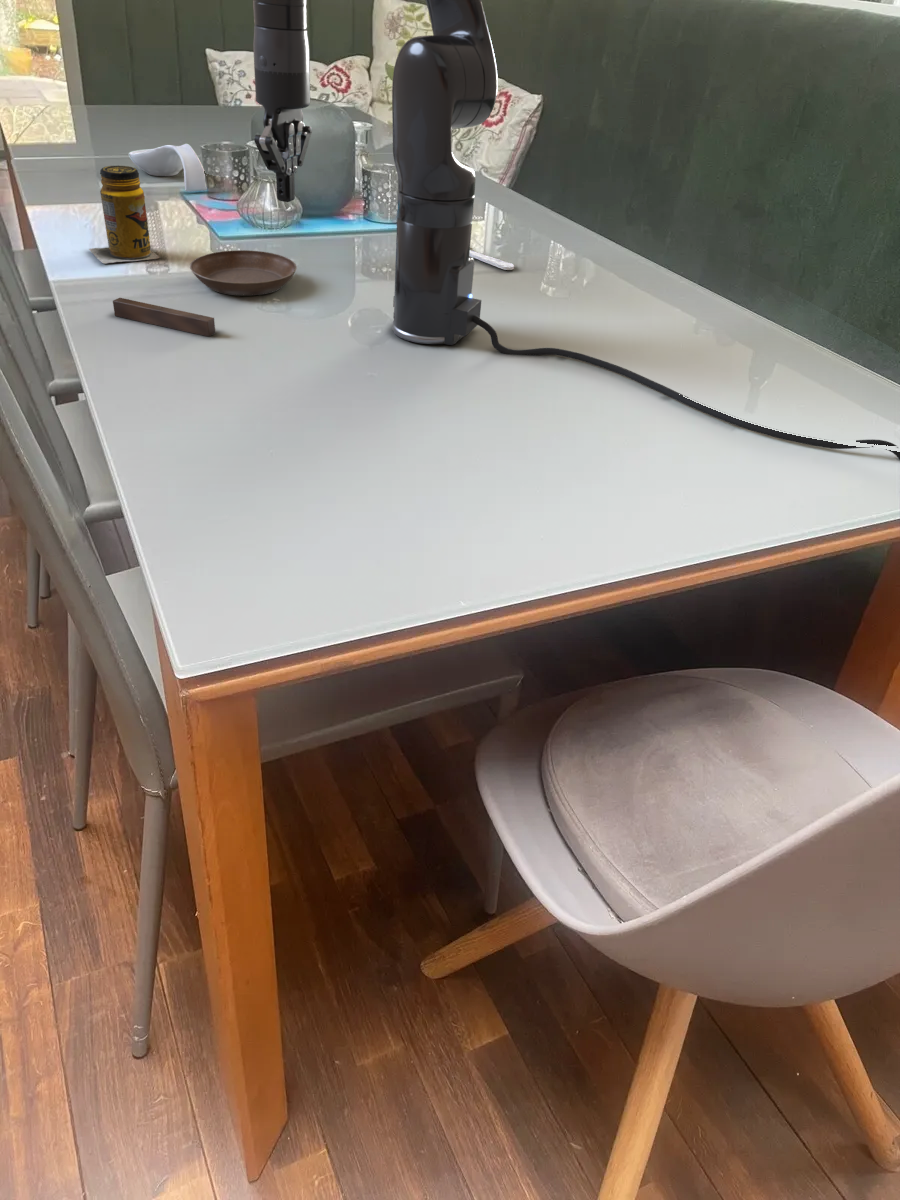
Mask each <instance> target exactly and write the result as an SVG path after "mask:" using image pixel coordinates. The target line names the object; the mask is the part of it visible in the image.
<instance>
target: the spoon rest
mask: <svg viewBox="0 0 900 1200" xmlns="http://www.w3.org/2000/svg"><path fill="white" fill-rule="evenodd" d="M128 157H129V158H130V160H131V162H132V163H133V164H134V165H135V166H136V167H137V168H139V169H140V170H142V171H144V172H145V173H146V174H148V175H151V176H156V177H173V176H176V175H178V174H179V173H180V172H181V171H182V170H183V181H184V190H185V192H187V193H189V192H190V193H192V192H202V191H203V192H204V191H208V190H207V187H205V174H204V171H205V169H204V165H203V164H202V162H201V160H200V159H199V156H198V154H197V153H196V151H195V150H194V149H193V147H192V146H191V145H190V144H188V143H184V144H181V145H173V144H167V145H162V146H158V147H154V148H149V149H148V148H147V149H137V150H131V151H129V152H128Z"/></svg>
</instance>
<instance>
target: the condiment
mask: <svg viewBox="0 0 900 1200" xmlns="http://www.w3.org/2000/svg"><path fill="white" fill-rule="evenodd" d="M99 174H100V178H101V179H100V183H101V186H102V187H101V188H100V191H99V192H100V200H101V207H102V211H103V212H102V214H103V218H104V227H105V231H106V237H107V239H106V240H107V245H108V246H107V247H100V248H99V247H92V248H88V250H89V251H90V253H91V254H92V255H94V257H95V258H96V260H98V261H100V262H101V264H113V263H122V262H137V261H149V260H156V259H160V258H161V256H159V255H157V254H156V253H155V252H154V251H152V249H151V241H150V231H149V222H148V215H147V209H146V202H145V201H146V200H145V192H144V190H143V189H142V187H141V186H140V185H141V182H140V172H139V171H138V169H137V168H136V167H133V166H128V165H119V164H117V165H108V166H104V167H102V168H101V169H100V171H99Z"/></svg>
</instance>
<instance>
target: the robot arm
mask: <svg viewBox="0 0 900 1200" xmlns="http://www.w3.org/2000/svg"><path fill="white" fill-rule="evenodd" d="M252 2H253V3H252V4H253V5H252V6H253V7H252V8H253V24H254V27H253V41H252V42H253V44H252V47H253V49H252V50H253V70H254V88H255V89H254V90H255V101H256V103H257V104H259V105H260V106H262V107H263V108H264V113H263V120H262V125H263V128H264V129H263V131H262V133H261V134H255V135H254V138H253V139H254V144H255V146H256V148H257V151H258V152H259V155H260V157H261V159H262V162H263V163H264V166H265V167H266V170H267V171H272V172H273V173H275V178H276V181H275V182H276V198H277V200H278V201H279V202H284V203H290V202H292V201H295V199H296V193H295V192H296V188H295V186H296V185H295V183H296V182H295V174H297V173H298V167H300V168H301V167H302V166H303V165H304V161H305V157H306V155H307V151H308V147H309V143H310V141H311V136H312V133H313V129H312V126H309V125H305V123H304V113H303V109H305V108H307V107H309V106H310V105H311V63H310V59H311V58H310V42H309V35H308V0H252ZM425 4H426V9H427V11H428V16H429V20H430V25H431V30H432V35H419V36H413V37H411V38H410V39H407V41H406V42H405V43H404V44H403V45H402V46H401V48H400V50H399V52H398V54H397V57H396V59H395V63H394V67H393V72H392V82H391V83H392V84H391V114H392V115H391V118H392V119H391V121H392V157H393V163H394V167H395V170H396V173H397V179H398V180H397V212H396V214H397V215H396V239H395V240H396V241H395V268H394V271H395V272H394V292H393V293H394V295H393V300H392V301H393V303H392V305H393V306H392V307H393V321H392V332H393V333H394V335H395V336H397V337H399V338H401V339H402V340H405V341H409V342H411V343H416V344H424V345H448V346H454V345H455V344H456V343H457V342H459V341H460V340H461V339H462V338H464V337H467V336H468V335H469V334H470V333H471V332H472V331H473V330H474V329H476V327H478V326H479V327H480V328H482V329H483V330H485V331H486V332H487V333H488V334H489V337H490V340H491V341H490V342H491V345H492V347H493V348H494V350H495V351H498V352H499V353H501V354H504V355H512V356H545V355H546V356H547V355H548V356H549V355H550V356H558V357H563V358H567V359H568V358H569V359H572V360H577V361H581V362H582V363H583V362H584V363H586V364H590V365H593V366H596V367H599V368H602V369H604V370H607V371H610V372H613V373H616V374H618V375H621V376H623V377H626V378H627V379H631V380H632V381H634V382H637V383H639V384H641V385H643V386H645V387H647V388H650V389H652V390H654V391H656V392H659V393H661V394H663V395H665V396H667V397H669V398H671V399H673V400H675V401H677V402H678V403H679V402H680V403H682V404H683V405H686V406H687V407H690V408H692V409H695V410H696V411H699V412H701V413H704V414H706V415H709V416H711V417H713V418H716V419H718V420H720V421H723V422H726V423H729V424H731V425H733V426H736V427H739V428H742V429H745V430H748V431H751V432H755V433H758V434H761V435H765V436H769V437H772V438H776V439H779V440H784V441H788V442H793V443H798V444H803V445H808V446H812V447H817V448H823V449H832V450H849V449H864V448H865V449H866V448H867V449H868V448H869V447H856V446H848V445H843V444H837V443H833V442H828V441H823V440H817V439H812V438H806V437H801V436H796V435H792V434H787V433H783V432H779V431H775V430H772V429H768V428H764V427H761V426H758V425H754V424H751V423H748V422H745V421H742V420H739V419H736V418H733V417H731V416H728V415H726V414H723V413H721V412H718V411H716V410H713V409H711V408H708V407H706V406H703V405H701V404H699V403H696V402H694V401H692V400H690V399H687V398H689V397H688V396H686V395H684V394H682V393H680V392H677V391H676V390H674V389H672V388H670V387H668V386H666V385H663V384H661V383H659V382H657V381H655V380H652V379H650V378H648V377H646V376H643V375H641V374H638V373H637V372H635V371H632V370H630V369H627V368H624V367H622V366H620V365H617V364H615V363H611V362H608V361H605V360H603V359H600V358H596V357H593V356H590V355H588V354H583V353H580V352H576V351H573V350H568V349H562V348H556V347H538V348H537V347H536V348H529V349H512V348H508V347H506V346H504V345H502V344H501V343H500V341H499V338H498V334H497V331H496V330H495V329H494V328H493V326H492V325H490V323H488V322H486V321H485V320H483V319H482V318H481V310H482V299H479V298H473V294H472V293H473V280H474V269H475V258H473V257H471V256H469V254H470V250H471V240H472V231H473V230H472V227H473V215H474V203H475V191H476V178H477V177H476V173H475V170H474V169H473V168H472V166H470V165H469V164H467V163H464V162H462V161H459V160H458V159H457V158H456V157H455V156H454V154H453V145H452V144H453V142H452V141H453V139H452V138H453V136H452V135H453V133H452V130H455V129H467V128H473V127H477V126H480V125H482V124H483V123H485V122H486V121H487V119H488V118H489V117H490V116H491V114H492V112H493V110H494V108H495V104H496V101H497V95H498V87H499V86H498V70H497V69H498V68H497V62H496V57H495V53H494V52H495V51H494V48H493V44H492V40H491V39H492V38H491V35H490V32H489V27H488V24H487V20H486V15H485V11H484V7H483V3H482V0H425ZM679 394H680V395H679ZM683 395H684V396H685V397H687V398H685V397H683ZM856 442H860V443H867V444H874V445H875V444H876V445H877V444H878V445H886V446H887V445H888V446H897V445H896V444H895V443H893V442H890V441H887V440H882V439H856ZM885 450H886V451H889V452H891V453H892V454H893V455H894V456H896V457H897V459H898V460H899V461H900V452H897V451H891V450H887V449H885Z"/></svg>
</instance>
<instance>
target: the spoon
mask: <svg viewBox="0 0 900 1200" xmlns="http://www.w3.org/2000/svg"><path fill="white" fill-rule="evenodd" d="M469 257H471V258H473V259H476V260H479V261H481V262H484V263H486V264H488V265H491V266H494V267H496V268H498V269H501V270H504V271H506V270H507V271H512V270H514V269H515V264H513V263H511V262H509V261H505V260H502V259H499V258H496V257H492V256H490V255H488V254H483V253H481V252H479V251H475V250H471V249H470V254H469Z"/></svg>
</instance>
